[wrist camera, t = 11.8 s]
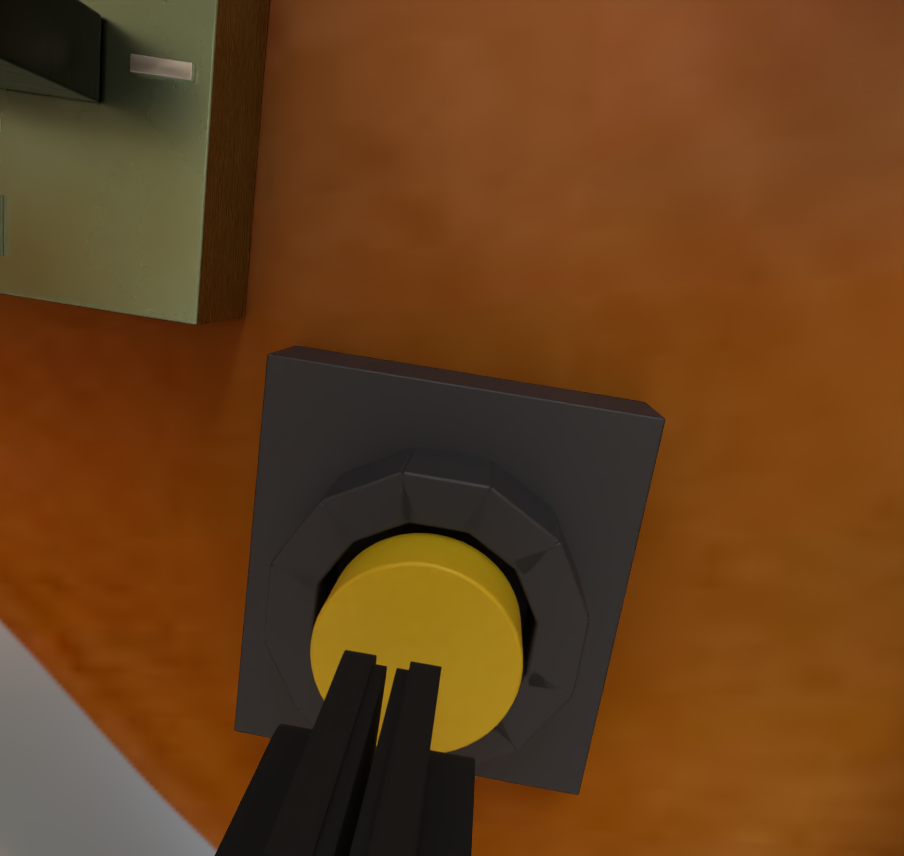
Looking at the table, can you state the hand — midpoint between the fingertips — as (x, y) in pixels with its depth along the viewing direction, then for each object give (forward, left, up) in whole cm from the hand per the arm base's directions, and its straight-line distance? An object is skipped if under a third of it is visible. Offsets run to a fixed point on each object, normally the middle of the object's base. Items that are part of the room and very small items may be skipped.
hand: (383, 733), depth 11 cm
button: (0, 0, -5) cm, 5 cm away
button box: (0, 0, -9) cm, 9 cm away
